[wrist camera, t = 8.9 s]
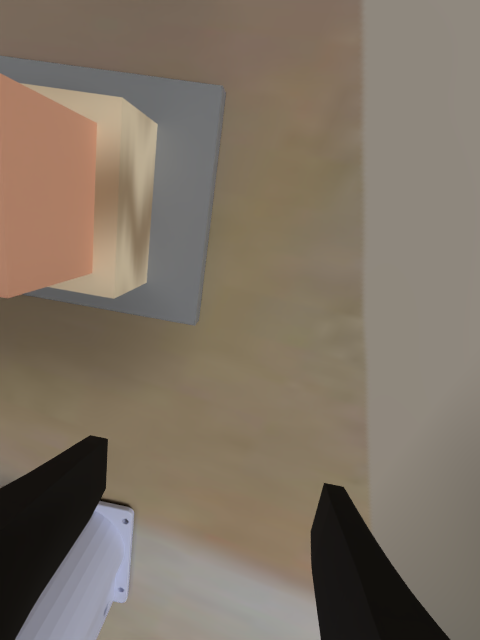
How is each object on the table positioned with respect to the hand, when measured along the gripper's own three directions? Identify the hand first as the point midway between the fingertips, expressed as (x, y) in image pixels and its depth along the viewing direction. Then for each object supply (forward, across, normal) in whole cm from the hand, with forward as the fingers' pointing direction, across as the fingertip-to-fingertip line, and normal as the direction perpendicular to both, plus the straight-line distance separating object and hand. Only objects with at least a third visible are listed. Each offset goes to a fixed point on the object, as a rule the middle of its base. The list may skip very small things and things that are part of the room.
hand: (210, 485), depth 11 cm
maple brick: (+9, +9, -8) cm, 15 cm away
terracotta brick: (+5, +9, -8) cm, 13 cm away
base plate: (+10, +9, -8) cm, 16 cm away
